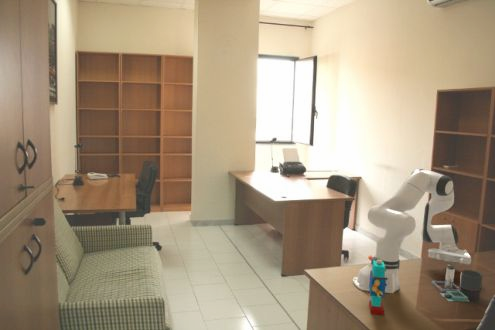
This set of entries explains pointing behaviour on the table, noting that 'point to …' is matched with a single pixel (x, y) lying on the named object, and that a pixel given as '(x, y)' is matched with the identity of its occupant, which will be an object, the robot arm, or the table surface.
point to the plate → (455, 296)
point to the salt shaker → (449, 275)
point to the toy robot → (377, 287)
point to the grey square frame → (444, 283)
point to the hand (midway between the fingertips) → (449, 260)
